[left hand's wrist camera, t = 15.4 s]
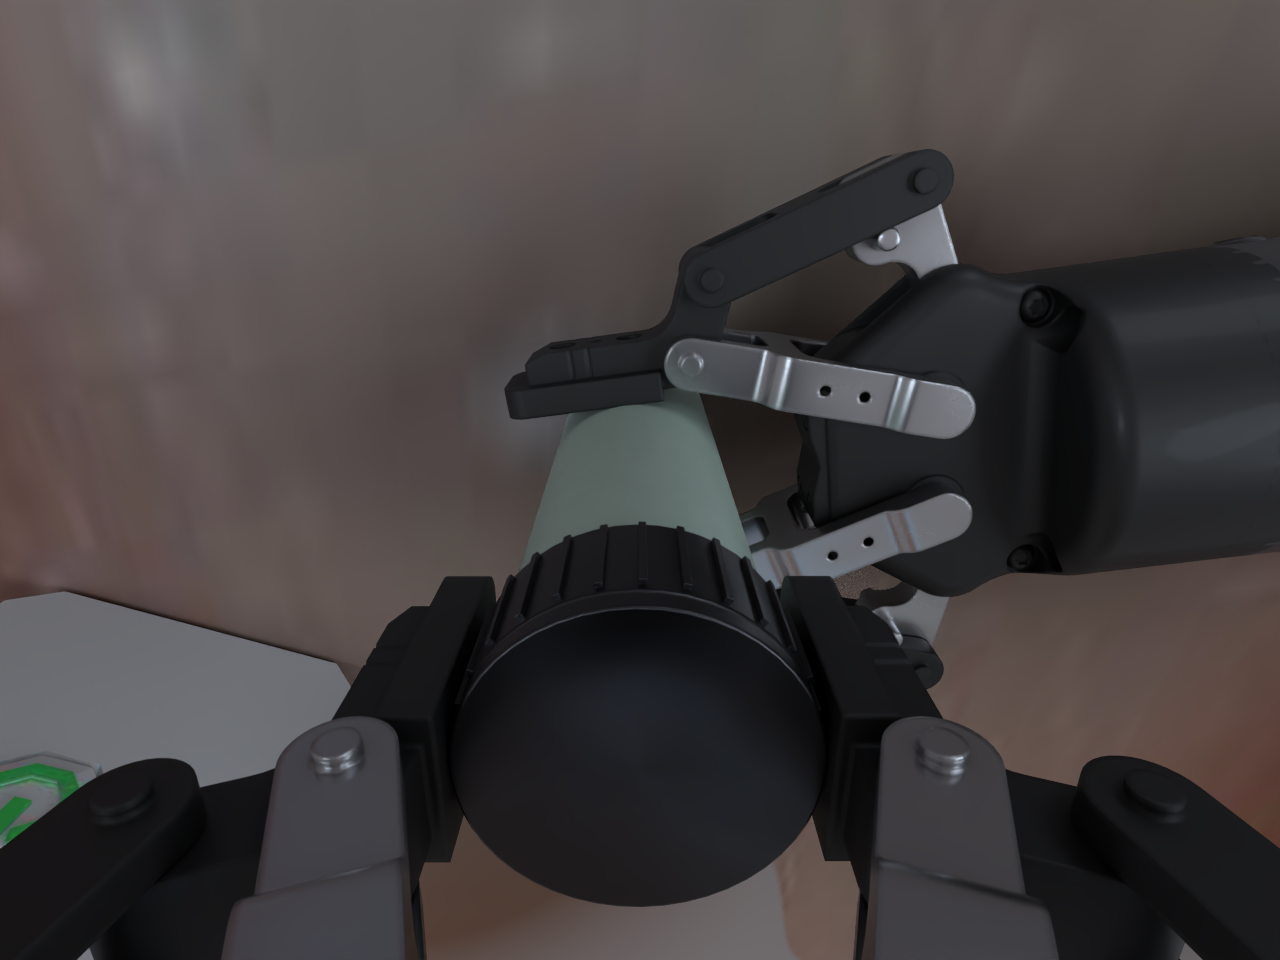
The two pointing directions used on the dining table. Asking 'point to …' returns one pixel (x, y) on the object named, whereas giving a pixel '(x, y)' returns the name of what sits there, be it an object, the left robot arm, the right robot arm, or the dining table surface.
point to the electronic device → (139, 700)
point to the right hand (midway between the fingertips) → (533, 488)
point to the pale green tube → (638, 475)
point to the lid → (638, 720)
